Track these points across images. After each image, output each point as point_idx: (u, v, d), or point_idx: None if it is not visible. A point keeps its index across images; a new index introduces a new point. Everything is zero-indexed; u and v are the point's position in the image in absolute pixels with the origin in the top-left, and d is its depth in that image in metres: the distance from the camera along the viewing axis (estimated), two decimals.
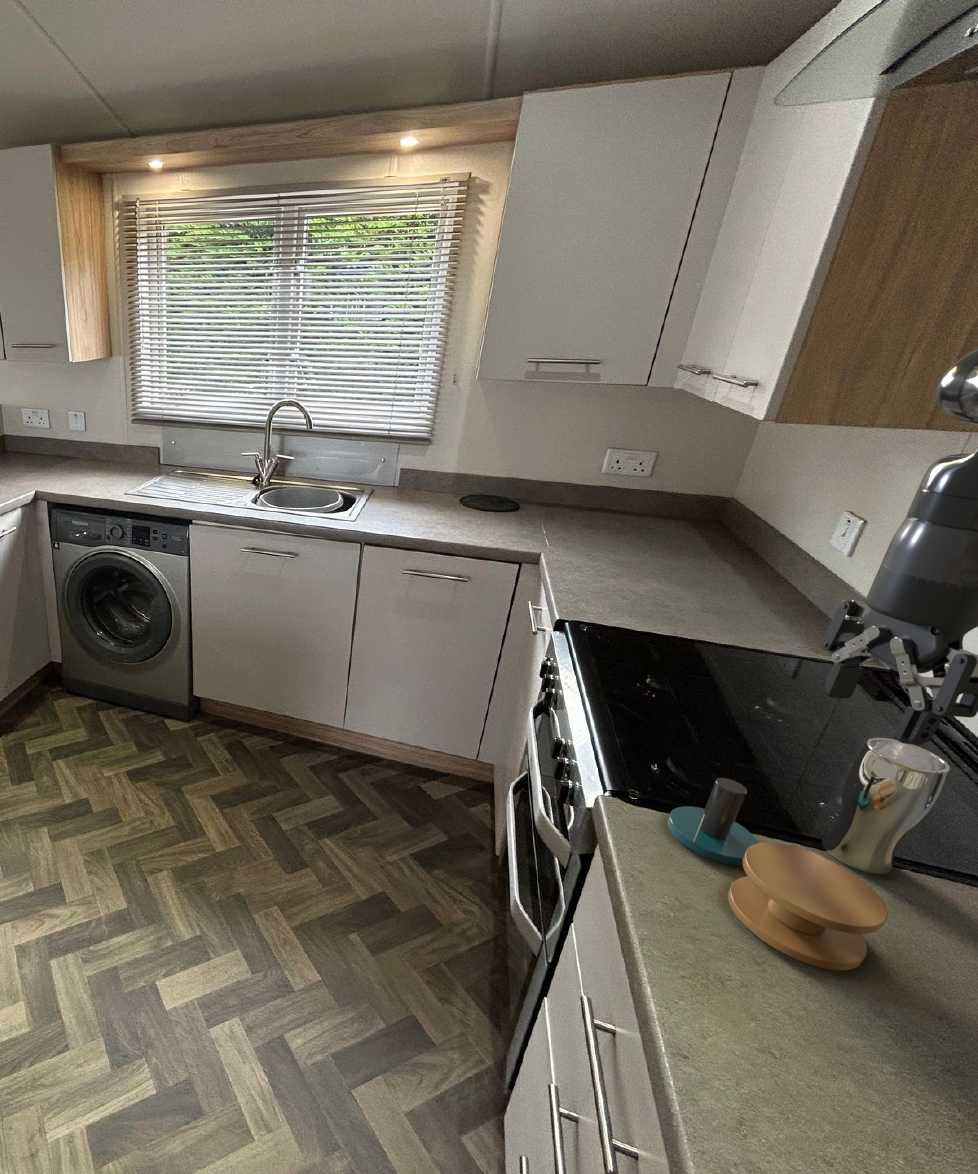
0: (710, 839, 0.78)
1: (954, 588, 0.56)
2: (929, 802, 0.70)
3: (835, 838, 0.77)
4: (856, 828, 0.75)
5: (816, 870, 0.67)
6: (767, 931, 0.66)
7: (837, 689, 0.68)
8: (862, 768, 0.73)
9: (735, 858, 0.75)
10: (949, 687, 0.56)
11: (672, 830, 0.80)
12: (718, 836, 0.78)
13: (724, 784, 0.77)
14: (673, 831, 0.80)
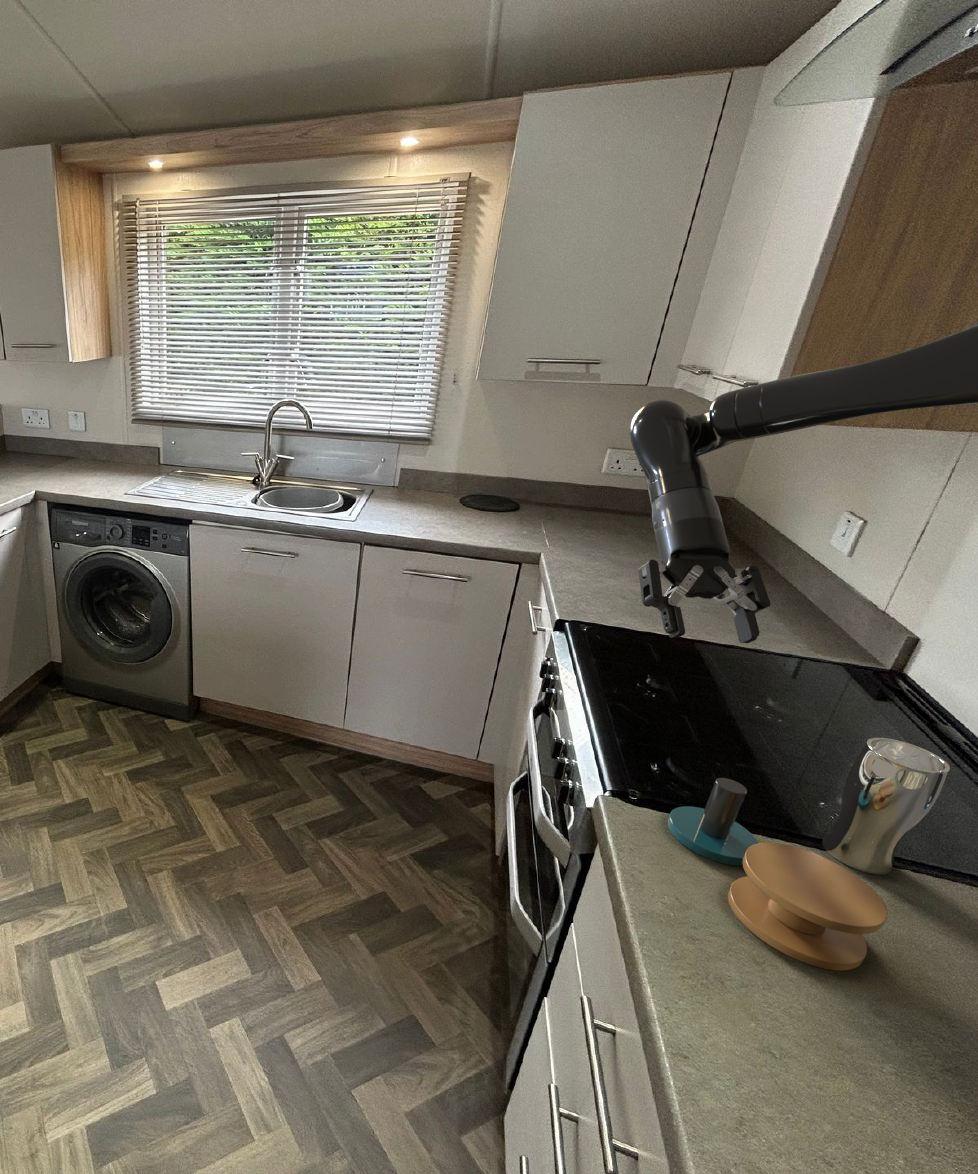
0: (710, 839, 0.78)
1: (656, 536, 0.89)
2: (929, 802, 0.70)
3: (835, 838, 0.77)
4: (856, 828, 0.75)
5: (816, 870, 0.67)
6: (767, 931, 0.66)
7: (741, 634, 0.81)
8: (862, 768, 0.73)
9: (735, 858, 0.75)
10: None
11: (672, 830, 0.80)
12: (718, 836, 0.78)
13: (724, 784, 0.77)
14: (673, 831, 0.80)
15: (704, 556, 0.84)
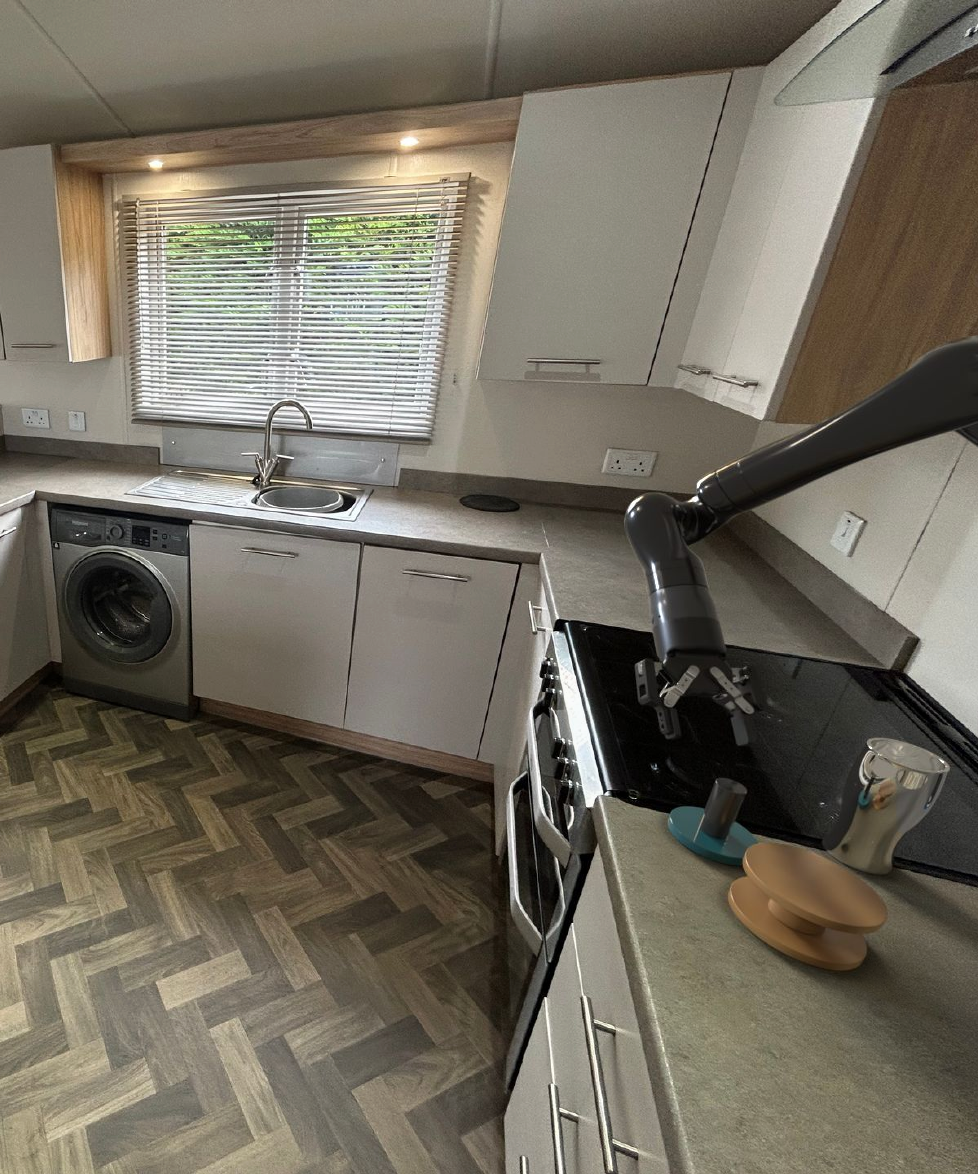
0: (710, 839, 0.78)
1: (652, 630, 0.89)
2: (929, 802, 0.70)
3: (835, 838, 0.77)
4: (856, 828, 0.75)
5: (816, 870, 0.67)
6: (767, 931, 0.66)
7: (738, 737, 0.81)
8: (862, 768, 0.73)
9: (735, 858, 0.75)
10: None
11: (672, 830, 0.80)
12: (718, 836, 0.78)
13: (724, 784, 0.77)
14: (673, 831, 0.80)
15: (700, 656, 0.84)
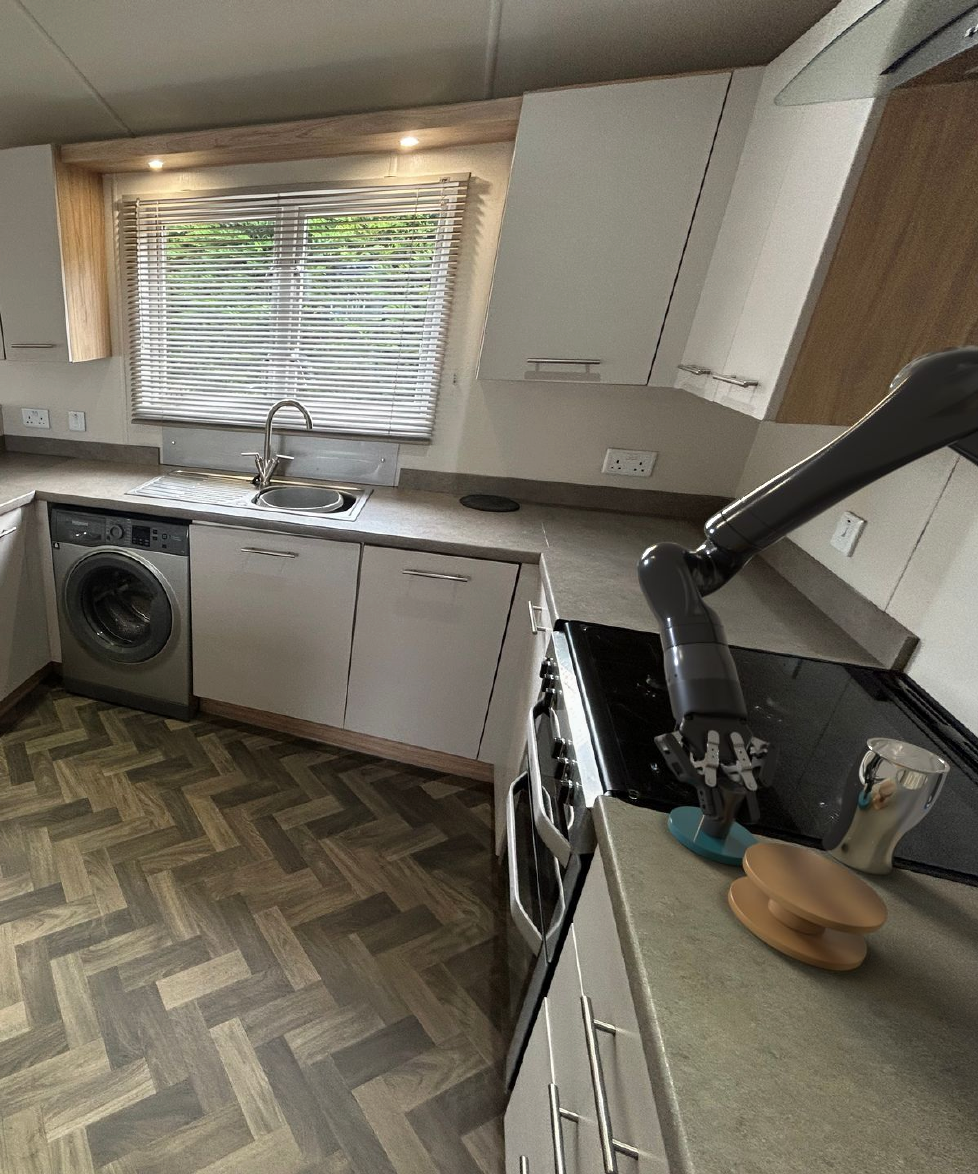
0: (710, 839, 0.78)
1: (668, 689, 0.84)
2: (929, 802, 0.70)
3: (835, 838, 0.77)
4: (856, 828, 0.75)
5: (816, 870, 0.67)
6: (767, 931, 0.66)
7: (740, 814, 0.77)
8: (862, 768, 0.73)
9: (735, 858, 0.75)
10: None
11: (672, 830, 0.80)
12: (718, 836, 0.78)
13: (724, 784, 0.77)
14: (673, 831, 0.80)
15: (719, 719, 0.80)
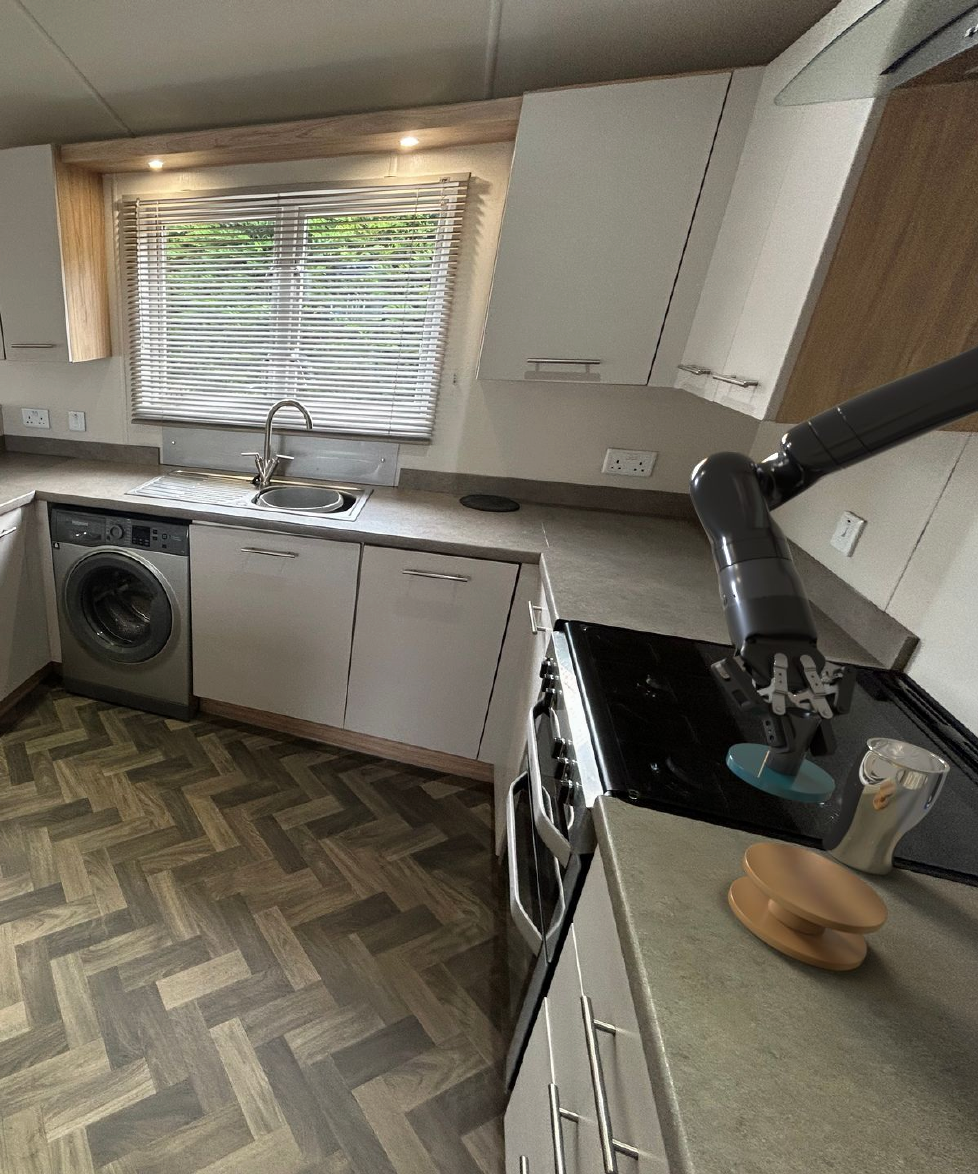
0: (777, 775, 0.69)
1: (725, 613, 0.75)
2: (929, 802, 0.70)
3: (835, 838, 0.77)
4: (856, 828, 0.75)
5: (816, 870, 0.67)
6: (767, 931, 0.66)
7: (813, 746, 0.68)
8: (862, 768, 0.73)
9: (809, 794, 0.66)
10: None
11: (732, 767, 0.71)
12: (787, 772, 0.69)
13: (794, 712, 0.68)
14: (734, 768, 0.71)
15: (786, 642, 0.71)
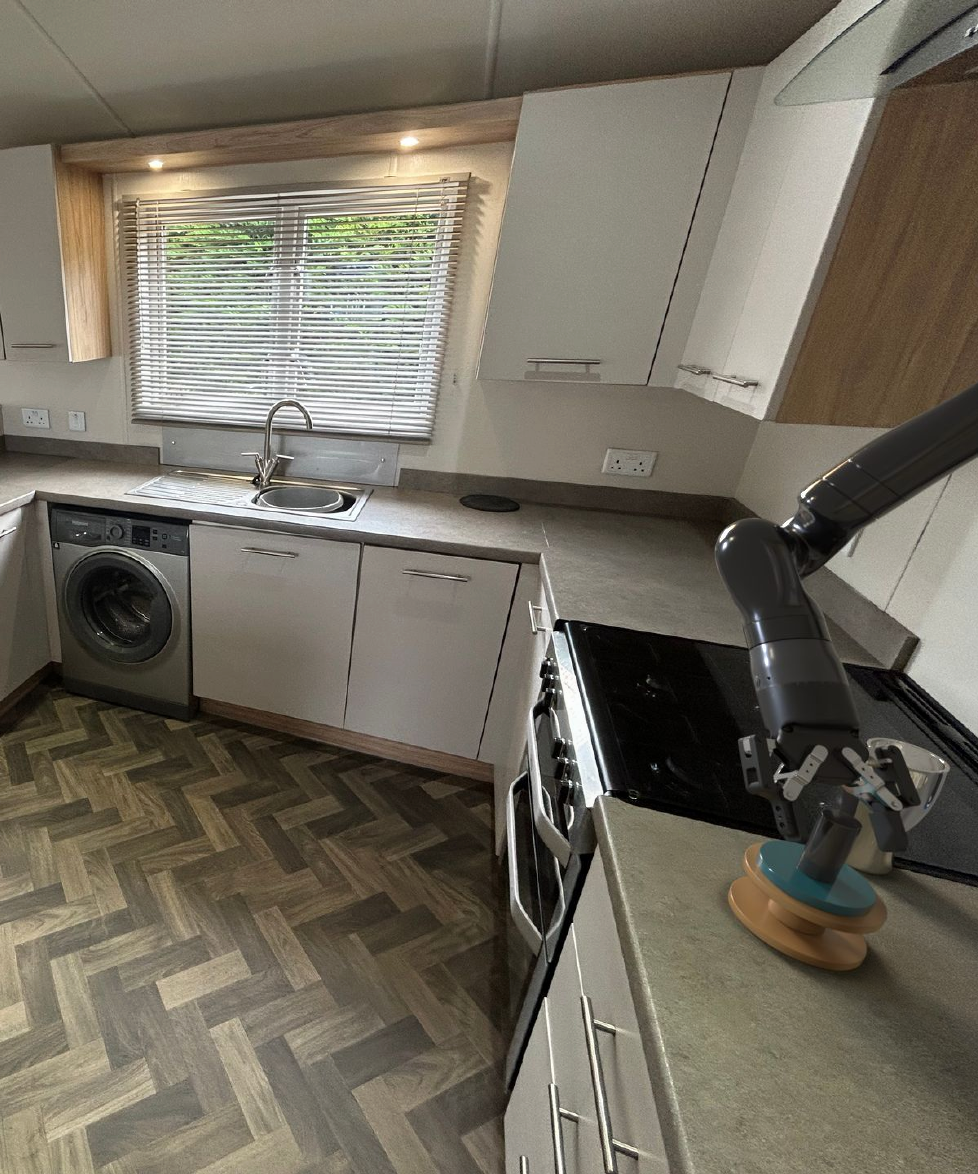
0: (814, 883, 0.64)
1: (757, 694, 0.70)
2: (929, 802, 0.70)
3: None
4: None
5: None
6: (767, 931, 0.66)
7: (881, 840, 0.63)
8: None
9: (849, 908, 0.61)
10: None
11: (764, 871, 0.66)
12: (824, 879, 0.64)
13: (833, 817, 0.63)
14: (766, 872, 0.66)
15: (826, 731, 0.65)
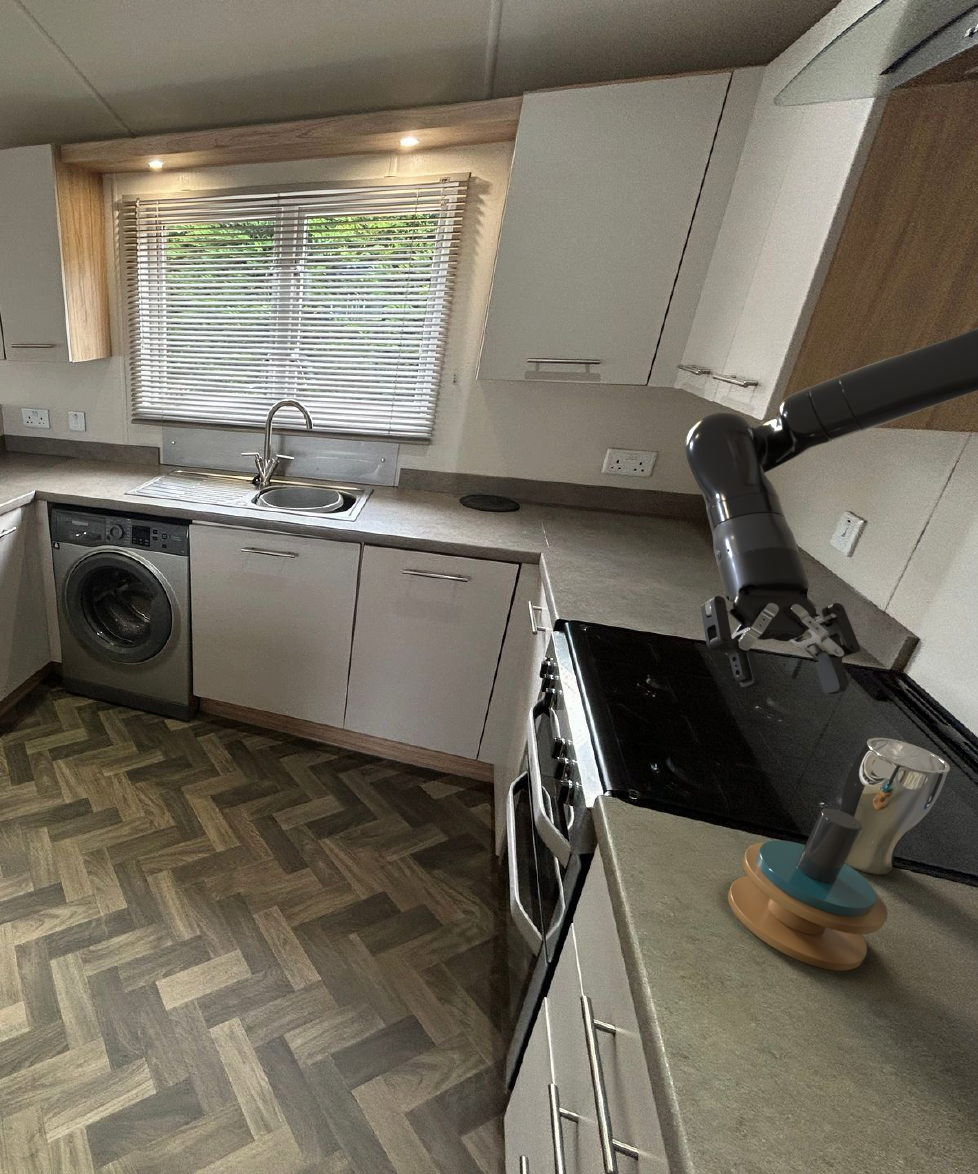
0: (814, 883, 0.64)
1: (719, 567, 0.78)
2: (929, 802, 0.70)
3: None
4: None
5: None
6: (767, 931, 0.66)
7: (825, 684, 0.70)
8: (862, 768, 0.73)
9: (849, 908, 0.61)
10: None
11: (764, 871, 0.66)
12: (824, 879, 0.64)
13: (833, 817, 0.63)
14: (766, 872, 0.66)
15: (778, 592, 0.73)
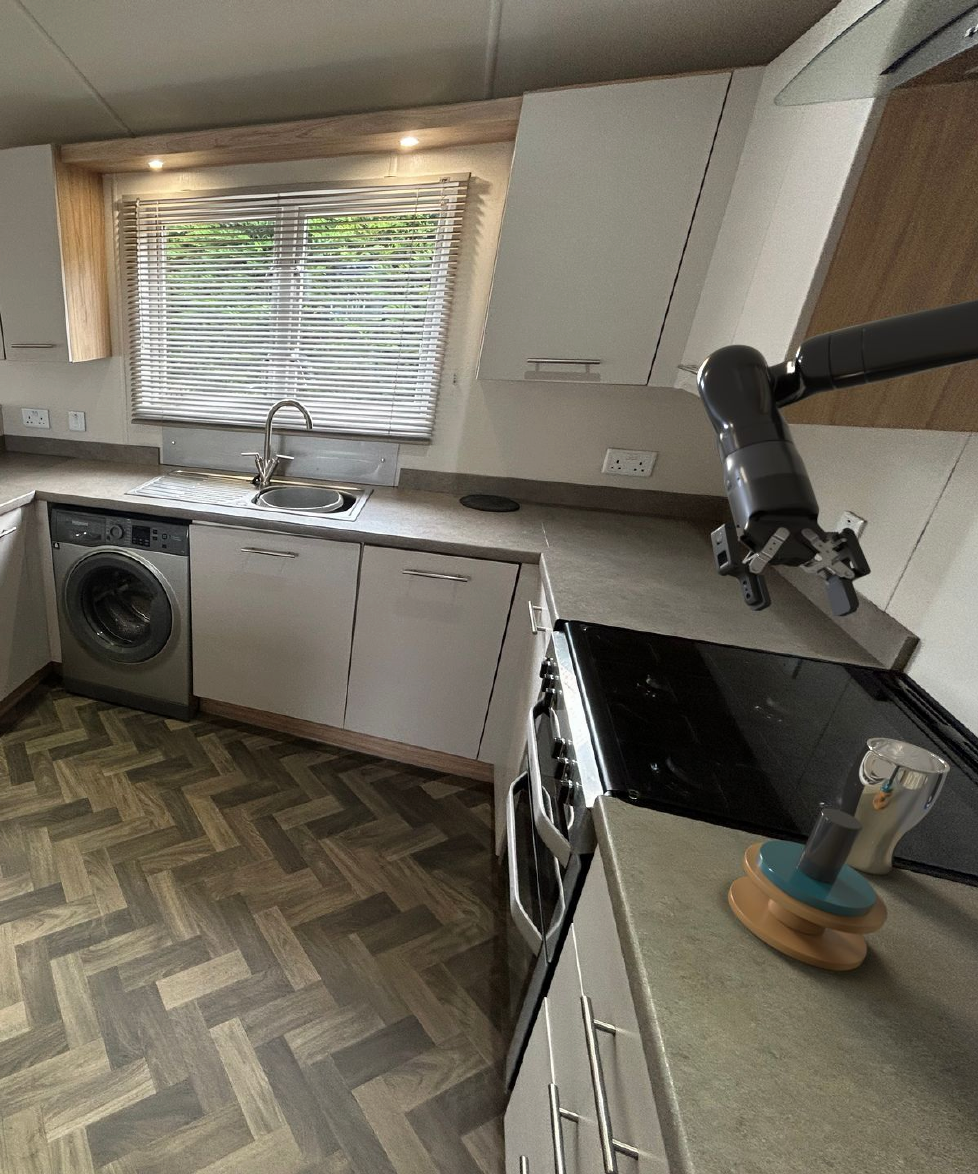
0: (814, 883, 0.64)
1: (729, 498, 0.78)
2: (929, 802, 0.70)
3: None
4: None
5: None
6: (767, 931, 0.66)
7: (836, 606, 0.70)
8: (862, 768, 0.73)
9: (849, 908, 0.61)
10: None
11: (764, 871, 0.66)
12: (824, 879, 0.64)
13: (833, 817, 0.63)
14: (766, 872, 0.66)
15: (788, 518, 0.73)
